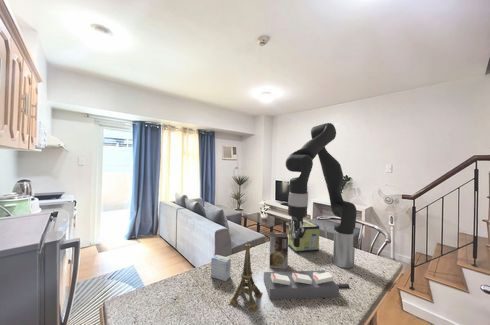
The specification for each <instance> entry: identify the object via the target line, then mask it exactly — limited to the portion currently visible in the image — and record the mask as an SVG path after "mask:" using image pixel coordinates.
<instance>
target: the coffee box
mask: <svg viewBox="0 0 490 325" xmlns="http://www.w3.org/2000/svg"><path fill="white" fill-rule="evenodd" d="M288 241H289V234H288V232H278V231H270V232H269V261H268V263H269V264H268V267H269V268H270V269H283V270H288V267H289V266H288V263H289V262H288V261H289V259H288V257H289V252H288V251H289V246H288Z"/></svg>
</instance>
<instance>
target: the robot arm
mask: <svg viewBox="0 0 490 325" xmlns="http://www.w3.org/2000/svg"><path fill="white" fill-rule="evenodd" d="M310 135H311V139H310V140H308V141H307V142H306V143H304V144H303V145H302V146H301V148H299V149H297V150H296V151H294V152H292V153H291V154H289V155H288V156H287V158H286V160H285V167H286V169H287V170H288V171H289V172H293V173H294V172H295V173H300V174H299V176H297V177H293V178H290V180H289V190H288V192H289V193H288V197H287V199H288V202H287V214H288V216H289V217H291V219H289V220H288V223H289V222H290V228H291V233H293V234H292V235H293V236H294V237H293V245H294V247H299V246H300V238H303V236H304V233H305V231H306V228H303V221H304V218H306V217H307V216H308V184H309V183H308V182H309V179H310V175H311V172H312V169H313V166H314V163H313V162H314V159H315V158H316V157H317V156H318V159H319V162H320V167H321V170H322V174H323V178H324V181H325V186H326V188H327V191H328V197H329V202H330V204H329V205H330V209H331V212H332V214H333V215H334V216H335V217H337V218H340V223H336V224H334V228H333V253H332V254H333V255H332V257H333V258H332V262H333V264H334V265H335V266H337V267H339V268H341V269H343V268H344V269H351V268H353V267H355V252H356V250H355V249H356V248H355V247H354V234H355V233H354V231H355V229H356V225H357V224H356V223H357V207H356V205H355V204H354V203H353V202H349V201H346V200H344V198H343V196H342V193H341V192H342V191H341V190H342V186H343V182H344V173H343V170H342V166H341V164H340V162H339V161H338V160H337V159H336V158H335V156H333V155H331V154H330V152H328V150H327V148H326V146H327V145H329V144H330V143H332V142H333V141H334V140H335V138H336V137H337V136H336V135H337V129H336V127H335V125H334V124H333V123H331V122H327V123H322V124H319V125H316V126H313V127H311V129H310Z"/></svg>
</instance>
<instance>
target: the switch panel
mask: <svg viewBox="0 0 490 325" xmlns="http://www.w3.org/2000/svg"><path fill="white" fill-rule="evenodd" d="M325 272H326V271H325V270H297V271H296V270H292V271H289V270H287V271H264V272H263V283H264V286H265V290H266V292H267V296H268V298H269V300H291V299H292V300H293V299H295V300H296V299H314V298H315V299H317V298H318V299H319V298H339V297H340V296H339V294H340V293H339V292H340V288H350V284H349V283H336V282H335V281H334V280H333V281H329V282H325V283H320V284H317V283H316V282H315V281H314V279H313V275H316V274H321V273H325ZM271 273H273V274H279V275H285V276H288V278H289V279H290V285H286V284H280V283H274V282H272V279H271ZM293 273H297V274H303V275H309V277H310V278H311V280H312V284H306V283H300V282H295V281H294V279H293V278H292V274H293Z"/></svg>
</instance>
